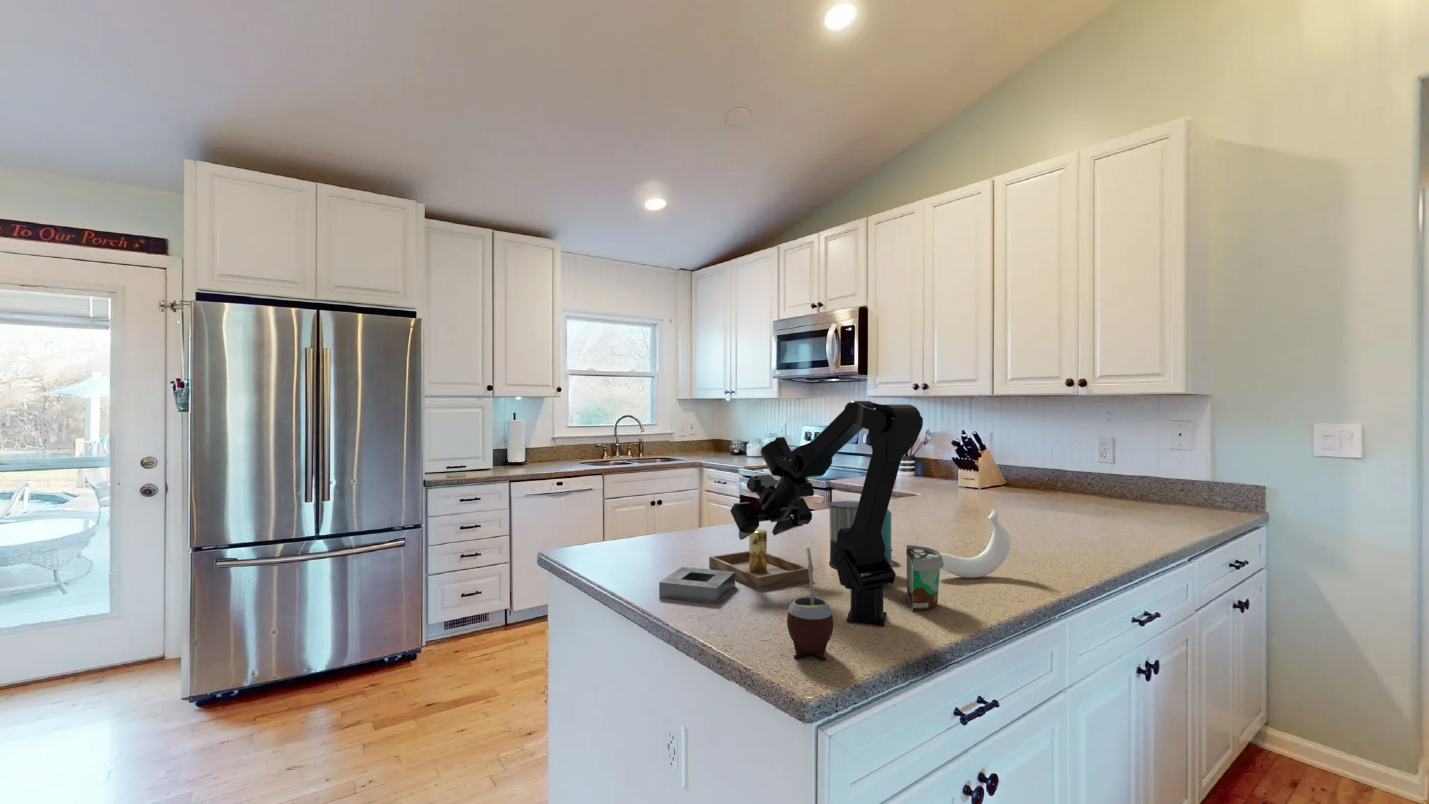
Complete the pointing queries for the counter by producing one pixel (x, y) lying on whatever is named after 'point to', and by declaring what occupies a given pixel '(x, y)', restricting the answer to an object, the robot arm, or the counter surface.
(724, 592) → the grey square socket block
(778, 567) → the walnut tray
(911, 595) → the food container
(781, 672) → the counter surface
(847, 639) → the counter surface
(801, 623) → the mate gourd
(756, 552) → the brass pin
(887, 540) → the beverage bottle
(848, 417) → the robot arm
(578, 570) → the counter surface
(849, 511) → the milk frother
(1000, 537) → the banana
